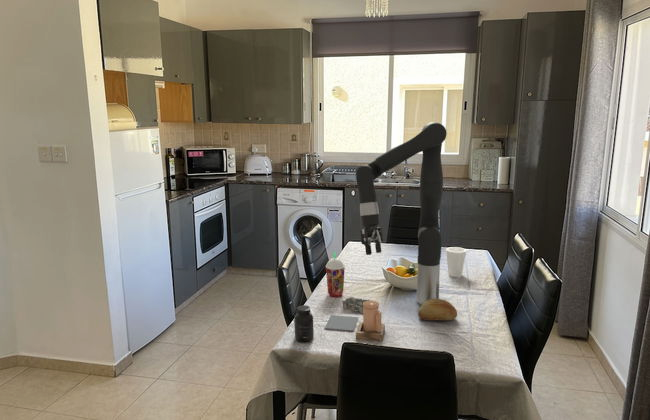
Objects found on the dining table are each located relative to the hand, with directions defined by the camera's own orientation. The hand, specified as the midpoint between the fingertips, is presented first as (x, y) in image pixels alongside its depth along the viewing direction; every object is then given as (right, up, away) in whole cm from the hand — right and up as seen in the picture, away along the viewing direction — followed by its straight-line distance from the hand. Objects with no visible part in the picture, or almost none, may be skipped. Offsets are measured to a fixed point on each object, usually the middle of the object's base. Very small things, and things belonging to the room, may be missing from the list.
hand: (374, 253), depth 194 cm
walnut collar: (-3, -28, -19) cm, 34 cm away
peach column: (-3, -28, -19) cm, 34 cm away
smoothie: (-15, -20, +18) cm, 31 cm away
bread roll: (+24, -25, -7) cm, 36 cm away
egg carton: (-7, -23, +5) cm, 25 cm away
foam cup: (+44, -15, +42) cm, 63 cm away
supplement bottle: (-27, -29, -22) cm, 45 cm away
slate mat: (-13, -26, -10) cm, 31 cm away
